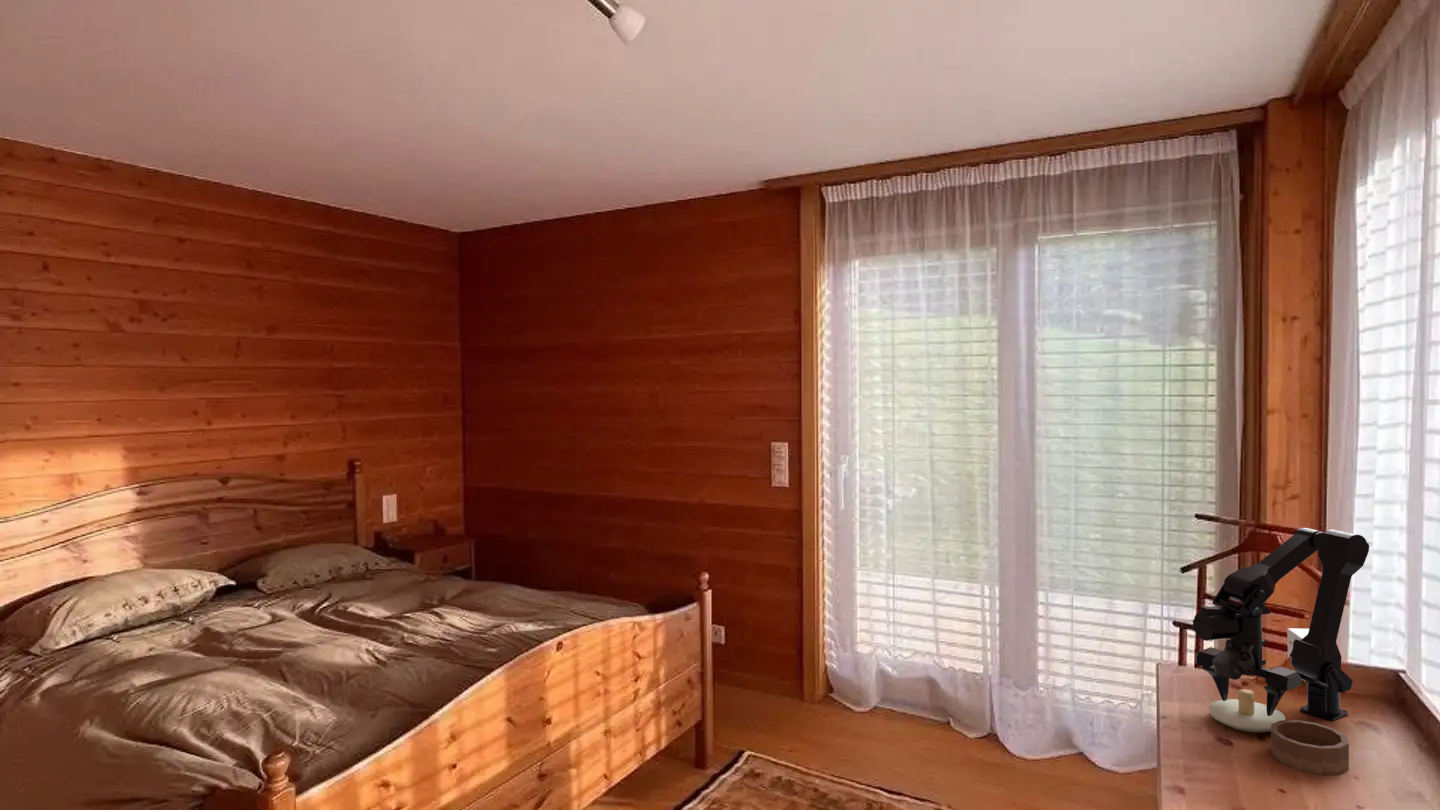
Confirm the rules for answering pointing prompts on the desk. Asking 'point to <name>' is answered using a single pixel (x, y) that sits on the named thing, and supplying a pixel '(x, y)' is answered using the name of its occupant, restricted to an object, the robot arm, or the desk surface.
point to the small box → (1295, 637)
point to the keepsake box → (1310, 747)
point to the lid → (1244, 713)
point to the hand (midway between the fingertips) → (1246, 707)
